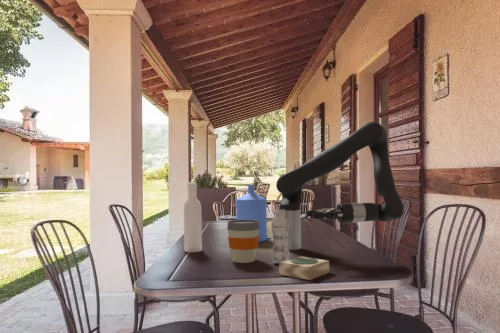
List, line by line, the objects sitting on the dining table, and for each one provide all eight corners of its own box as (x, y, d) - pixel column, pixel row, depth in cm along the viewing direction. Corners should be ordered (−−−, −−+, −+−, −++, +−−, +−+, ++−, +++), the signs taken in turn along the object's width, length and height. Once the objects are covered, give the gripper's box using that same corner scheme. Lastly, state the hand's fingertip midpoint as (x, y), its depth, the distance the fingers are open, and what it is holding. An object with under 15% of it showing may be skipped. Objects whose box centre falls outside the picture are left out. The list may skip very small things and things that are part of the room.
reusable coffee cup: (229, 264, 150) (228, 223, 150) (226, 257, 162) (225, 220, 162) (262, 263, 152) (262, 222, 152) (256, 256, 164) (256, 219, 164)
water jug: (267, 242, 197) (266, 185, 197) (235, 243, 197) (234, 185, 198) (266, 237, 212) (266, 184, 213) (236, 238, 213) (236, 184, 213)
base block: (279, 274, 134) (278, 261, 134) (299, 267, 143) (299, 255, 143) (309, 280, 126) (309, 266, 127) (329, 272, 135) (329, 259, 136)
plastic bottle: (289, 265, 146) (288, 210, 147) (270, 265, 148) (269, 210, 148) (290, 262, 153) (290, 209, 153) (273, 261, 154) (272, 208, 154)
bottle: (185, 253, 173) (184, 182, 174) (182, 249, 181) (181, 182, 181) (203, 251, 176) (203, 182, 176) (200, 248, 183) (199, 182, 184)
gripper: (343, 201, 162) (304, 203, 159) (358, 204, 148) (315, 205, 145) (344, 220, 161) (304, 222, 159) (359, 224, 147) (316, 226, 145)
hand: (309, 214), depth 152 cm, fingers open, 8 cm apart
